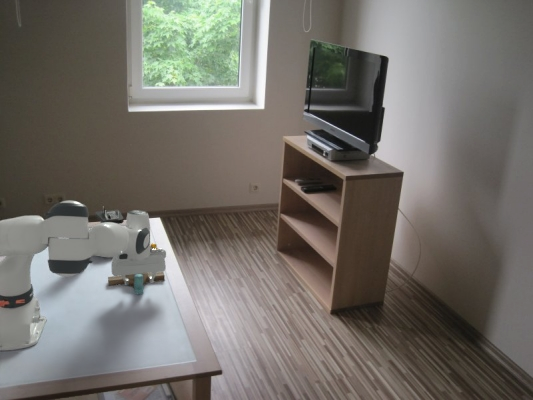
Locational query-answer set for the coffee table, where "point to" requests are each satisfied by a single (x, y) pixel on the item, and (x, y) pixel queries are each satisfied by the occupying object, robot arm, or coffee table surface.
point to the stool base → (119, 281)
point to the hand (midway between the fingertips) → (139, 282)
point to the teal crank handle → (138, 284)
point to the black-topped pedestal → (110, 216)
